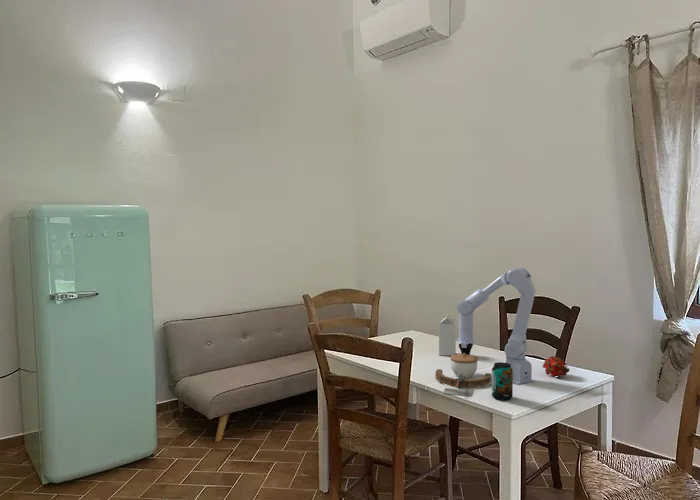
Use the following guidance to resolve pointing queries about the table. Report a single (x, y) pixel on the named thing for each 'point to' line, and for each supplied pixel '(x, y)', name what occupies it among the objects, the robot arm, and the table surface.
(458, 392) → the yoke
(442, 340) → the milk carton
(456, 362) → the lidded jar
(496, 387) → the beverage can
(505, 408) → the table surface
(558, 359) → the dragon fruit
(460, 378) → the indicator
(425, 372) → the table surface
